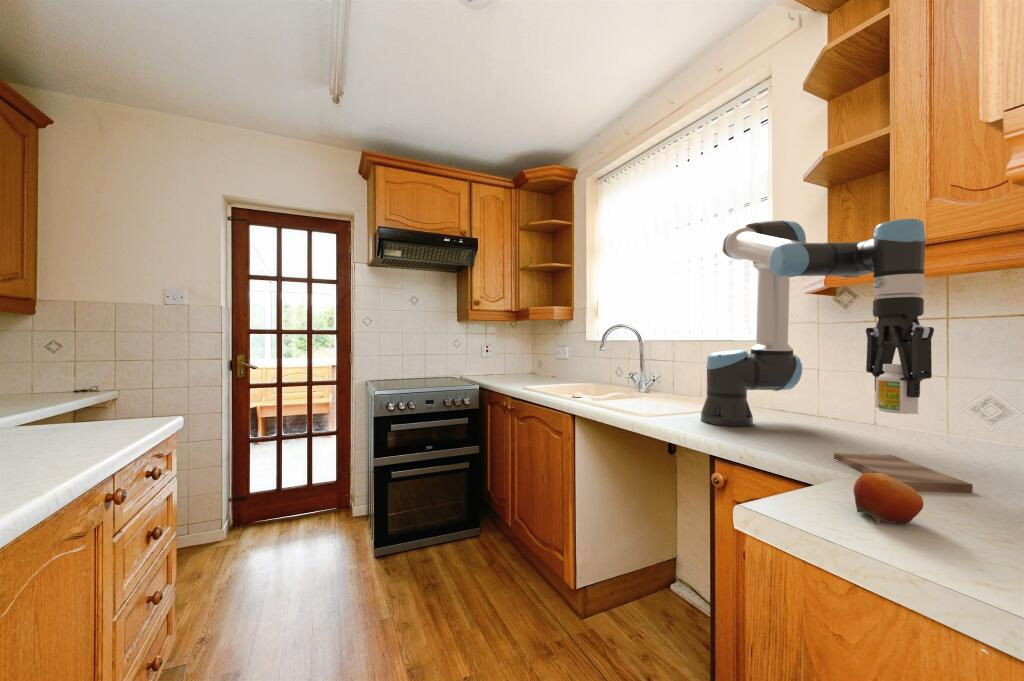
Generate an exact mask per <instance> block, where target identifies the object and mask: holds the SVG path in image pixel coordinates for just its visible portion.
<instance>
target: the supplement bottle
mask: <svg viewBox="0 0 1024 681" xmlns="http://www.w3.org/2000/svg"><path fill="white" fill-rule="evenodd" d="M882 370H883V371H884V374H882V375H880V376H879V378H878V408H877V409H878V410H879V411H880V412H885V413H891V414H898V415H899V414H900V415H902V413H900V380H901V379H900V378H903V377H904V376H903V371H902V366H901V363H897V364H896V363H892V364H883V369H882Z"/></svg>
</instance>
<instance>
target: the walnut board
mask: <svg viewBox="0 0 1024 681" xmlns="http://www.w3.org/2000/svg"><path fill="white" fill-rule="evenodd" d="M834 459H836V460H838V461H840V462H842V463H844V464H843V465H845V464H846V465H845V466H847V465H848V466H847V467H849V466H850V467H849V468H851V467H852V468H851V469H853V468H854V469H853V470H856V471H859V472H860V473H862V474H865V473H882V474H886V475H888V476H889V477H892V478H894V479H897V480H898V481H900V482H902V483H904V484H906V485H908V486H910V487H912V488H913V489H914V490H915V491H919V492H921V491H925V492H926V491H927V492H946V493H947V492H951V493H973V483H970V482H967V481H964V480H961V479H960V478H956V477H954V476H951V475H948V474H945V473H942V472H941V471H937V470H934V469H931V468H928V467H926V466H923V465H920V464H918V463H916V462H912V461H909V460H906V459H904V458H902V457H898V456H895V455H893V454H879V453H878V454H877V453H849V452H848V453H844V452H841V453H840V452H833V460H834ZM836 460H835V461H836ZM838 461H837V462H838ZM840 462H839V463H840ZM842 463H841V464H842Z"/></svg>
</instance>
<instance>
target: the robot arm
mask: <svg viewBox="0 0 1024 681" xmlns="http://www.w3.org/2000/svg"><path fill="white" fill-rule="evenodd" d="M925 230H926V229H925V222H924V221H923V220H921V219H918V218H902V219H895V220H890V221H884V222H881V223H879V224H877V225H876V226H875V228H874V231H873V235H872V238H870V239H866V240H863V241H856V242H855V241H851V242H848V241H847V242H842V241H841V242H807V239H806V232H805V230H804V228H803V226H802V225H800V223H798V222H796V221H789V220H788V221H787V220H771V221H770V220H769V221H768V220H767V221H747V222H745V221H744V222H740V223H737V224H735V225H732V226H731V227H729V228H728V229H727V230H726V231H725V232H724V233H723V235H722V236H721V240H720V248H721V251H722V252H723V254H724V255H725V256H727V257H729V258H731V259H733V260H738V261H739V260H748V261H750V262H752V267H753V268H755V269H756V270H757V271H758V272H757V300H756V301H757V302H756V303H757V304H756V307H757V308H756V339H755V340H756V342H755V344H754V345H753V346H752V347H750V354H749V353H748V350H746V349H735V350H722V351H717V352H716V351H715V352H712V353H709V355H708V356H707V358H706V359H707V362H706V367H705V368H706V398H705V401H704V404H703V406H702V410H701V411H700V412H701V413H700V420H701V421H702V422H704V423H708V424H713V425H717V426H725V427H749V426H752V425H754V416H753V413H752V411H751V408H750V405H749V402H748V391H773V392H774V391H775V392H780V391H790V390H791V389H793V388H795V387H796V386H797V385H798V383H799V382H800V380H801V378H802V374H803V364H802V362H801V358H800V357H799V356H798V355H796V354H794V348H793V347H791V346H790V345H789V319H790V318H789V313H790V312H789V311H790V278H795V277H816V276H818V277H819V276H820V277H822V276H823V277H829V276H830V277H831V276H832V277H839V278H846V279H847V278H859V277H861V276H865V275H871V274H873V276H872V277H873V295H872V296H873V297H875V298H876V299H874V300H873V301H872V316H873V317H876V318H878V320H877V323H876V326H874V327H867V328H866V329H865V334H866V339H867V340H866V360H865V361H866V365H865V371H866V372H867V373H870V374H872V376H873V377H874V391H875V403H874V404H875V406H874V407H875V408H877V409H878V378H879V376H880V375H882V374H884V371H883V364H893V361H894V357H895V354H896V349H897V352H898V356H899V361H900V364H901V366H902V371H903V376H904V377H903V378H900V379H901V380H900V413H902V414H903V415H918V414H919V398H920V396H921V381H923V380H926V379H927V380H928V379H932V375H933V374H932V373H933V371H932V367H933V366H932V337H933V335H934V332H935V328H934V327H933V326H923V325H920V321H919V318H918V317H921V316H923V315H924V310H925V309H924V308H925V307H924V305H925V304H924V302H925V300H924V299H925V298H923V297H921V295H922V296H923V294H925V262H926V261H925V258H926V256H925V254H926V241H927V238H926V231H925ZM902 414H901V415H902Z"/></svg>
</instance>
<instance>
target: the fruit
mask: <svg viewBox="0 0 1024 681" xmlns="http://www.w3.org/2000/svg"><path fill="white" fill-rule="evenodd" d="M853 495H854V501H855V502H854V503H855V507H856V513H864V514H867V515H870V516H871V517H872V518H873V520H875V525H877V526H878V524H879V523H880V522H889V523H893V524H902V525H904V524H905V525H906V524H909V523H911V522H912V520H913V519H915V517H916V516H918V515H919V513H920V512H921V511H922V510H923V507H924V505H925V503H924V499H923V496H922V495H921V494H919V492H917V490H914V489H913V488H912V487H910V486H908V485H906V484H904V483H902V482H900V481H898V480H897V479H894V478H892V477H889V476H888V475H886V474H882V473H865V474H864V473H862V474H861V475H859V477H858V478H857V479H856V481H855V483H854V485H853Z"/></svg>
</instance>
